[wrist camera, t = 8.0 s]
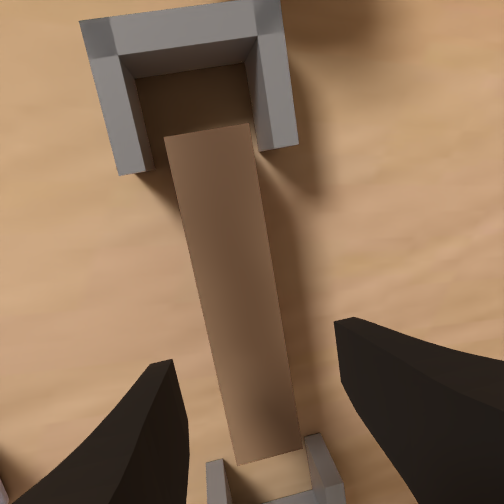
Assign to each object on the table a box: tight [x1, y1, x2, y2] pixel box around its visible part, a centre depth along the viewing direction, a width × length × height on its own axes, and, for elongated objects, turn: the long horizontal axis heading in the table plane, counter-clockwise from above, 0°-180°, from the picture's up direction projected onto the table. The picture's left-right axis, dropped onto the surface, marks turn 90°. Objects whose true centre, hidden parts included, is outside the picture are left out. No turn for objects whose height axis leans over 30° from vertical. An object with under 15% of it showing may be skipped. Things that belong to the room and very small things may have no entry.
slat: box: [163, 123, 303, 466], centre depth 17 cm, size 3×14×5 cm, turn 10°
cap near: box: [79, 0, 299, 176], centre depth 15 cm, size 7×5×4 cm
